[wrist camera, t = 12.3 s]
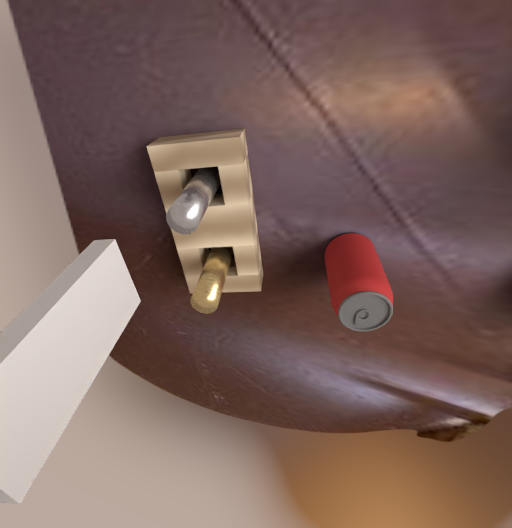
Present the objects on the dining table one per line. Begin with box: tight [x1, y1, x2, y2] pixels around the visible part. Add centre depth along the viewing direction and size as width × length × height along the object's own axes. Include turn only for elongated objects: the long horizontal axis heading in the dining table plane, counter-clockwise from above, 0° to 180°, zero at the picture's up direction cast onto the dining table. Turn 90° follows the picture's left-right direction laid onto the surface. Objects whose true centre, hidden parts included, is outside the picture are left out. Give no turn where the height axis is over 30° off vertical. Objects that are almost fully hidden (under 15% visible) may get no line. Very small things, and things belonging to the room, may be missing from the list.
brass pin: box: [191, 246, 234, 313], centre depth 39 cm, size 3×3×12 cm
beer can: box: [324, 233, 393, 332], centre depth 38 cm, size 7×7×12 cm
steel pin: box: [166, 166, 221, 234], centre depth 34 cm, size 3×3×12 cm
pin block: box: [146, 128, 263, 293], centre depth 40 cm, size 20×10×4 cm, turn 7°
